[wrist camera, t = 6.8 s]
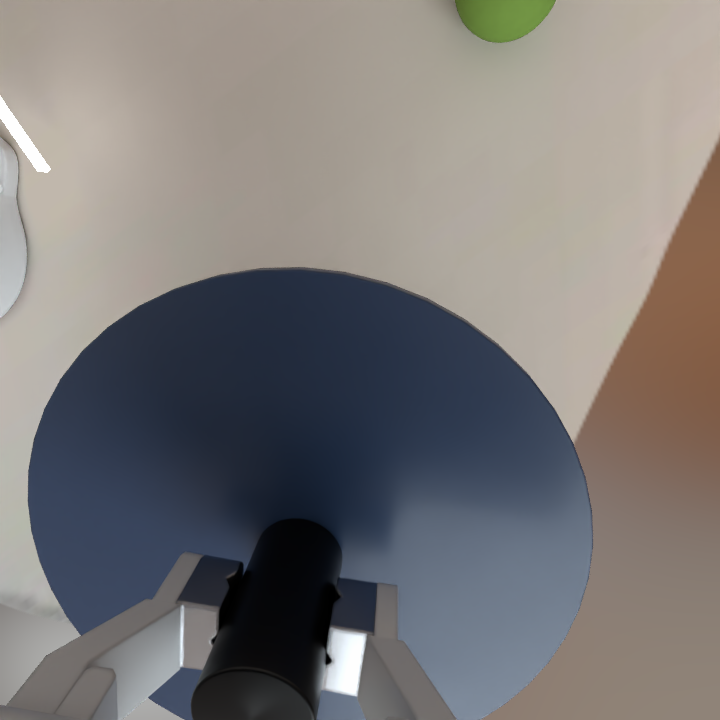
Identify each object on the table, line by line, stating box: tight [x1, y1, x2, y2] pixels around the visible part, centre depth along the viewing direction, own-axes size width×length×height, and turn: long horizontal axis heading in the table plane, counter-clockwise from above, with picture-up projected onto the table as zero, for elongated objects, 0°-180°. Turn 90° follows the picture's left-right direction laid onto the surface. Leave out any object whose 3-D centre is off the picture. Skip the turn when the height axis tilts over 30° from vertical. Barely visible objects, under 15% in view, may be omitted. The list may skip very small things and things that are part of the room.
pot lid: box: [28, 267, 593, 720], centre depth 12 cm, size 16×16×6 cm
